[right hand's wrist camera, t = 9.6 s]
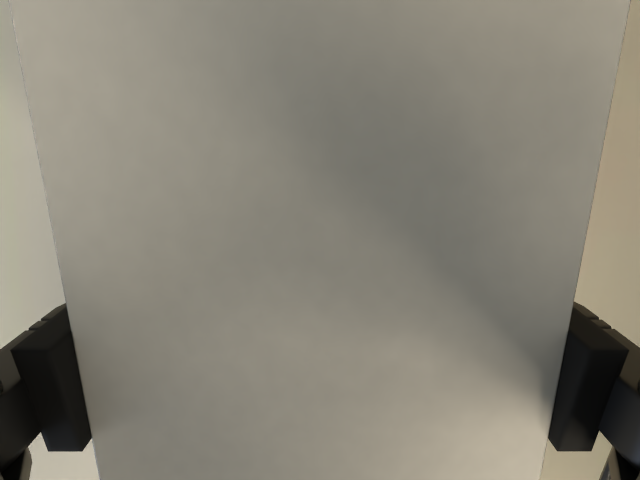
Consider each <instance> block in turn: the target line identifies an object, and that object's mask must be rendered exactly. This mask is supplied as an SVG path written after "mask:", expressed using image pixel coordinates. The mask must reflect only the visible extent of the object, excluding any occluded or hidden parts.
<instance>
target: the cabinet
mask: <svg viewBox="0 0 640 480" xmlns="http://www.w3.org/2000/svg"><path fill="white" fill-rule="evenodd" d="M630 1H631V0H9V5H10V11H11V16H12V21H13V26H14V32H15V37H16V42H17V47H18V53H19V58H20V63H21V68H22V74H23V79H24V84H25V89H26V95H27V100H28V105H29V110H30V116H31V121H32V126H33V132H34V137H35V142H36V147H37V153H38V158H39V163H40V168H41V174H42V179H43V184H44V189H45V195H46V200H47V205H48V210H49V216H50V221H51V226H52V231H53V237H54V242H55V247H56V253H57V258H58V263H59V268H60V274H61V279H62V284H63V289H64V295H65V300H66V305H67V310H68V316H69V321H70V326H71V331H72V337H73V342H74V347H75V352H76V358H77V363H78V368H79V374H80V379H81V384H82V389H83V395H84V400H85V405H86V410H87V416H88V421H89V426H90V431H91V437H92V442H93V447H94V452H95V458H96V463H97V468H98V473H99V479H100V480H540V476H541V471H542V466H543V461H544V455H545V450H546V445H547V439H548V434H549V429H550V424H551V418H552V413H553V408H554V402H555V397H556V392H557V387H558V381H559V376H560V371H561V366H562V360H563V355H564V350H565V344H566V339H567V334H568V329H569V323H570V318H571V313H572V308H573V302H574V297H575V292H576V286H577V281H578V276H579V271H580V265H581V260H582V255H583V249H584V244H585V239H586V234H587V228H588V223H589V218H590V213H591V207H592V202H593V197H594V191H595V186H596V181H597V176H598V170H599V165H600V160H601V154H602V149H603V144H604V139H605V133H606V128H607V123H608V118H609V112H610V107H611V102H612V96H613V91H614V86H615V81H616V75H617V70H618V65H619V59H620V54H621V49H622V44H623V38H624V33H625V28H626V23H627V17H628V12H629V7H630Z"/></svg>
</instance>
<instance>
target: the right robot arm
mask: <svg viewBox="0 0 640 480" xmlns="http://www.w3.org/2000/svg"><path fill="white" fill-rule="evenodd" d="M599 430H600V432H601V433H602V434H603V435H604V436H605V437H606V438H607V440H608V441H609V442H610V443H611V444H612V445H613V446H612V449H611V451H610V454H609V456H608V459H607V461H606V464H605V466H604V469H603V471H602V474H601V476H600V478H599V480H640V348H639V347H638V346H637V345H635V344H634V343H632V342H631V341H630V340H628V339H627V338H626V337H624V336H623V335H622V334H620V333H619V332H618V331H616V330H615V329H611V326H610V325H608V324H607V323H606V322H604V321H603V320H599V317H597V316H596V315H595V314H593V313H592V312H591V311H589V310H588V309H587V308H585V307H584V306H582V305H580V304H578V303H576V302H573V308H572V313H571V318H570V323H569V329H568V334H567V339H566V344H565V350H564V355H563V360H562V366H561V371H560V376H559V381H558V387H557V392H556V397H555V402H554V408H553V413H552V418H551V424H550V429H549V434H548V439H549V440H550V442H551V443H552V444H553V446H554V447H555V449H556V450H557V451H592V448H593V445H594V443H595V440H596V437H597V435H598V432H599ZM40 432H41V433H42V436H43V439H44V441H45V444H46V447H47V449H48V451H83V450H84V448H85V447H86V445H87V444H88V442H89V441H90V440H91V438H92V437H91V431H90V426H89V421H88V416H87V410H86V405H85V400H84V395H83V389H82V384H81V379H80V374H79V368H78V363H77V358H76V352H75V347H74V342H73V337H72V331H71V326H70V321H69V316H68V310H67V305H66V303H65V304H63V305H61V306H59V307H57V308H55V309H54V310H52V311H51V312H50V313H48V314H47V315H46V316H44V317H43V318H42V319H41V321H38V322H36V323H35V324H34V325H32V326H31V327H30V328H29V330H28V331H24V332H23V333H22V334H20V335H19V336H18V337H16V338H15V339H14V340H12V341H11V342H10V343H8V344H7V345H6V346H4V347H3V348H2V349H0V480H29V477H30V471H31V465H32V459H31V454H30V451H29V449H28V446H29V445H30V444H31V442H32V441H33V440H34V439H35V438H36V437H37V435H38V434H39V433H40Z"/></svg>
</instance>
